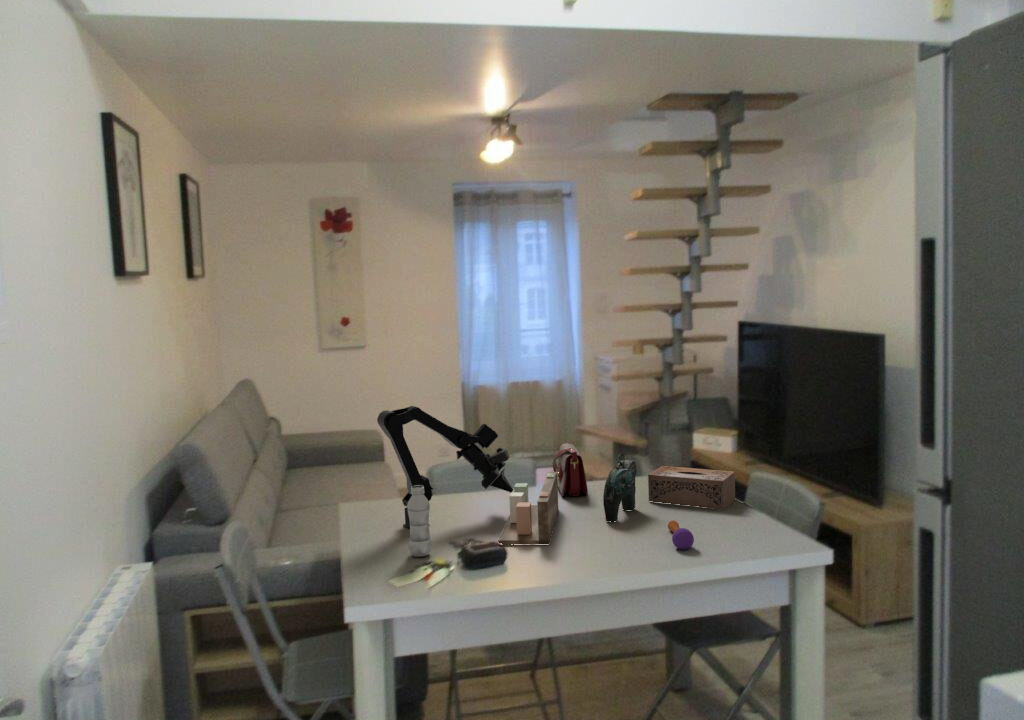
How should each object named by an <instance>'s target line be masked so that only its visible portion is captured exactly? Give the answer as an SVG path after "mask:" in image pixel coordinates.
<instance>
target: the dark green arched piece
mask: <svg viewBox="0 0 1024 720" xmlns="http://www.w3.org/2000/svg"><path fill="white" fill-rule="evenodd" d="M621 456H622V458H623V459H622V460H617V463H618V464H617V466H614V467H613V468H612V469H610V471H609V474H608V475H607V478H606V480H605V484H604V488H603V489H604V490H603V495H602V497H603V499H602V501H603V502H602V503H603V509H604V510H603V511H604V515H605V522H606V521H611V522H614V521H616V520H617V521H618V519H619V510H620V505H621V507H622V510H623V509H624V510H633V509H634V508H635V509H636V493H637V492H636V476H637V464H636V462H635V461H634V460H630V459H629V457H627V456H626V455H624V454H623V453H620V454H619V455H618V457H617V458H618V459H621ZM635 509H634V510H635ZM624 510H623V511H624ZM634 510H633V511H634Z"/></svg>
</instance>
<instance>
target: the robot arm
mask: <svg viewBox="0 0 1024 720" xmlns="http://www.w3.org/2000/svg"><path fill="white" fill-rule="evenodd" d="M412 421H416V422H417V423H419V424H420V425H423V426H425V427H426V428H428V429H429V430H431V431H432V432H435V433H436V434H438V435H439V436H440V437H442V439H443V440H445V442H446V443H448V444H449V445H450V446H452V447H455V448H458V449H460V450H456V451H455V453H456V461H459V460H460V459H461V458H464V460H466V462H468V463H469V464H470V465H471V467H473V471H475V472H476V471H477V472H479V474H481V475H482V480H481V481H480V482H481V486H482V487H483V488H484V489H485V490H487V489H488V488H489V487H493V488H496V489H500V490H503V491H506V492H508V493H513V492H514V487H512V485H511V484H510V482H509V480H508V479H507V477H506V476H505V468H504V467H505V466H506V465H507V464H506V462H507V461H508V460H509V459H510V454H509V452H508V450H507V449H506V448H502V447H498V448H497V449H496V453H494V454H490V453H485V452H484V451H483V449H486V450H488V449H489V448H490V447H491V445H492V444H493V443H494V442H495V441H496V440H497V439H498V438H499V435H498V433H497V432H496V431H495V430H493V429H492V427H490V426H488V424H486V423H482V424H481V425H480V426H479V428H478V429H477V430H476V431H475V432H474V433H468V432H467V431H464V430H461V429H458V428H455V427H453V426H450V425H448V424H446V423H444V422H442V421H441V420H439V419H437V418H436V417H434V416H432V415H431V414H429V413H427V412H425V411H424V410H422V409H421V408H420V407H418V406H415V405H410V406H407V407H404V408H398V409H394V410H382V411H380V413H379V414H378V416H377V420H376V422H377V424H378V425H379V427H380V429H381V430H382V432H383V433H384V434H385V435H386V437H387V438H388V439H389V440H390V443H391V445H392V447H393V450H394V452H395V454H396V456H397V459H398V462H399V463H400V466H401V468H402V471H403V472H404V475H405V478H406V487H407V488H406V489H407V493H406V494H405V496H404V497H402V500H401V501H402V504H403V506H404V523H403V524H402V526H403V527H404V526H405V527H404V528H407V529H409V530H410V521H409V515H408V509H407V504H408V501H409V500H410V498H411V496H412V494H411V487H412V486H417V485H421V486H424V491H425V493H424V496H425V497H426V498H427V499H428V501H429V502H430V501H431V499H432V497H433V490H434V488H433V487H432V486H431V483H430V479H429V478H428V477H426V476H425V475H422V474H420V472H419V470H418V467H417V465H416V463H415V460H414V458H413V455H412V453H411V450H410V448H409V446H408V444H407V442H406V439H405V436H404V425H407V424H409V423H411V422H412ZM502 468H503V469H502ZM501 469H502V470H501ZM429 527H430V523H429Z"/></svg>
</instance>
